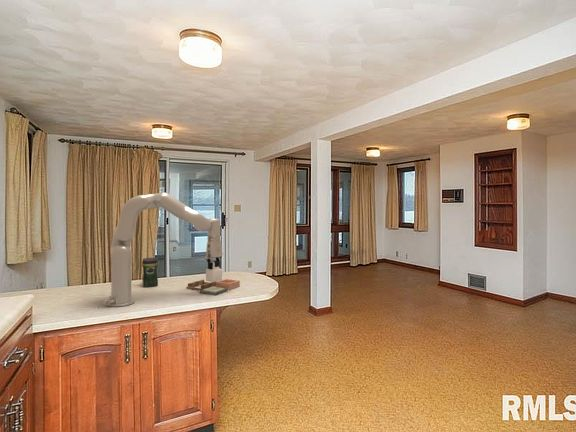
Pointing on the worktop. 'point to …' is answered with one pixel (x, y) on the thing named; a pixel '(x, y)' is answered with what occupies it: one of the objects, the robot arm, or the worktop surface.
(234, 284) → the reddish brown square tray
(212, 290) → the tester pad
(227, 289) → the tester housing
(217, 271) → the medicine bottle
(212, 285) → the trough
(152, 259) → the coffee jar
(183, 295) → the worktop surface
